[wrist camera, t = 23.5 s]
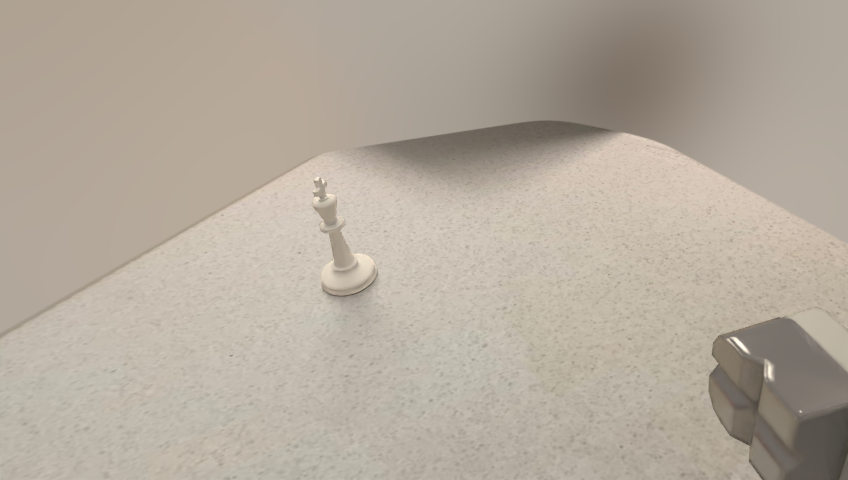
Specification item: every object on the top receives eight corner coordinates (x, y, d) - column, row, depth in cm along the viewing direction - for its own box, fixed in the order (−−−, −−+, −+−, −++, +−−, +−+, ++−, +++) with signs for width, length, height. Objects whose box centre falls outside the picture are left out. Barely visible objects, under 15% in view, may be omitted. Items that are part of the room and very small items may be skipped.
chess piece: (313, 295, 55) (276, 197, 49) (333, 258, 59) (301, 163, 53) (366, 297, 54) (335, 196, 48) (384, 259, 57) (356, 161, 52)
